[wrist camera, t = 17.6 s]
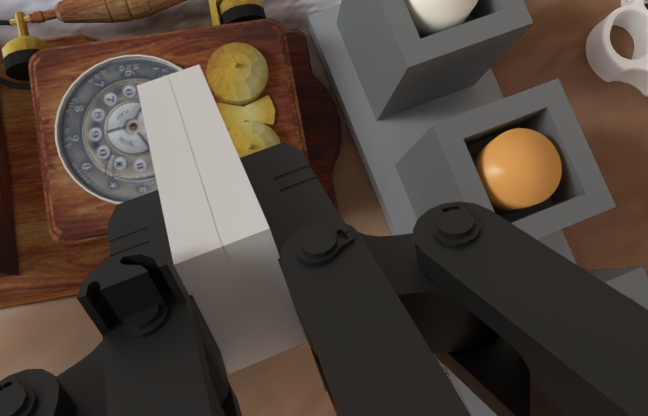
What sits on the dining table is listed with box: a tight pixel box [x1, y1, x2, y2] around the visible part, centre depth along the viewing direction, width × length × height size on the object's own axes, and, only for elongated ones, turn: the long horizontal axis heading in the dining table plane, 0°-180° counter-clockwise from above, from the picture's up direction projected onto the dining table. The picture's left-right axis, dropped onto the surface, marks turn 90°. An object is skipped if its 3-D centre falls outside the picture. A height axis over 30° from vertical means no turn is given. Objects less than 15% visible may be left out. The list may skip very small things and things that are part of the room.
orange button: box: [471, 128, 562, 214], centre depth 41 cm, size 5×5×4 cm
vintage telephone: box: [0, 0, 341, 308], centre depth 45 cm, size 24×12×40 cm
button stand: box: [306, 0, 648, 416], centre depth 45 cm, size 38×13×14 cm, turn 22°
